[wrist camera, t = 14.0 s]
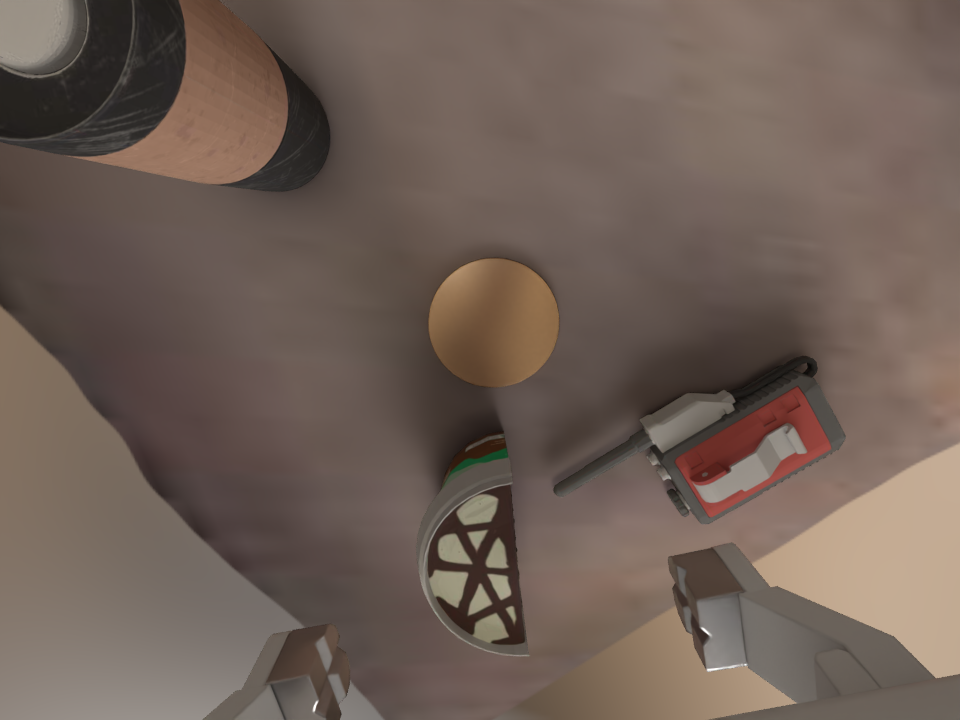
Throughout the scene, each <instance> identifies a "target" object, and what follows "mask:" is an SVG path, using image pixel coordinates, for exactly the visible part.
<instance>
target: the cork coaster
mask: <svg viewBox="0 0 960 720" xmlns="http://www.w3.org/2000/svg"><path fill="white" fill-rule="evenodd" d="M428 327H429V335H430V340H431V343H432V346H433V348H434V350H435V353H436V355H437V356H438V358H439V359H440V361H441V362H442V363H443V364H444V366H445V367H446V368H447V369H448V370H449V371H450V372H452V373H453V374H454V375H456V376H457V377H458V378H460V379H462V380H464V381H466V382H468V383H471V384H474V385H478V386H482V387H504V386H509V385H513V384H516V383H518V382H521V381H523V380H525V379H526V378H528V377H530V376H531V375H533V374H534V373H535V372H536V371H538V370H539V369H540V368H541V367H542V366H543V364H544V363H545V362H546V361H547V359H548V358H549V356H550V354H551V353H552V351H553V349H554V346H555V344H556V341H557V337H558V332H559V312H558V307H557V303H556V300H555V298H554V296H553V293H552V292H551V290H550V288H549V286H548V285H547V284H546V283H545V281H544V280H543V279H542V278H541V277H540V276H539V275H538V274H537V273H536V272H534V271H533V270H532V269H530V268H529V267H527V266H525V265H523V264H521V263H519V262H516V261H513V260H509V259H505V258H484V259H479V260H475V261H472V262H470V263H467V264H465V265H463V266H461V267H460V268H458V269H457V270H455V271H454V272H453V273H451V274H450V275H449V276H448V277H447V278H446V279H445V280H444V281H443V283H442V284H441V286H440V287H439V288H438V290H437V292H436V294H435V296H434V298H433V301H432V303H431V307H430V311H429V319H428Z"/></svg>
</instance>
